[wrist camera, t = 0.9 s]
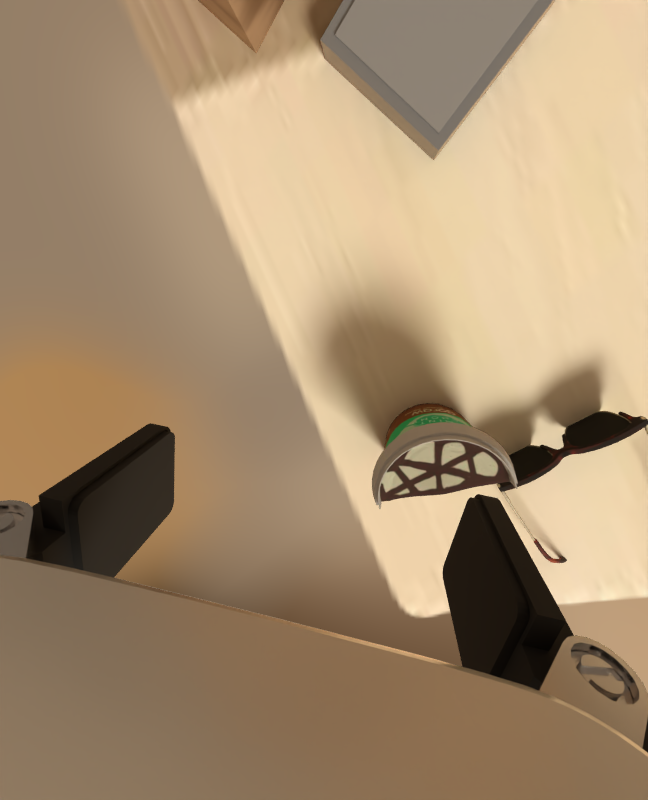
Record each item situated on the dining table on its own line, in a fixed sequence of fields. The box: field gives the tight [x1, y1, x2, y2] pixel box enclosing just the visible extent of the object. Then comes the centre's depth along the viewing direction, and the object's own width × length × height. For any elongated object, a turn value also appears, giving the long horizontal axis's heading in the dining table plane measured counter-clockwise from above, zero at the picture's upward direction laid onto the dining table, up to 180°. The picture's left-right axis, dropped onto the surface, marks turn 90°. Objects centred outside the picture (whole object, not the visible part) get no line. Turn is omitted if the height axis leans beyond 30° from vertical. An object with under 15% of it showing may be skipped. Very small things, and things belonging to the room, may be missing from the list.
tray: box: [321, 0, 555, 160], centre depth 26 cm, size 12×12×3 cm
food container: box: [372, 403, 518, 509], centre depth 33 cm, size 12×6×10 cm, turn 107°
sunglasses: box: [497, 411, 648, 563], centre depth 37 cm, size 14×16×5 cm
